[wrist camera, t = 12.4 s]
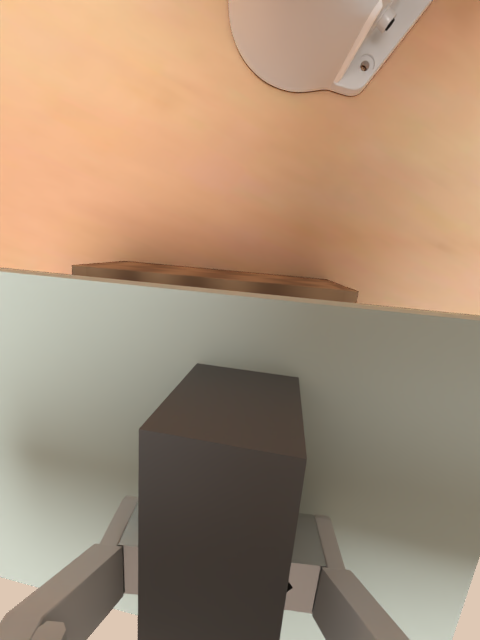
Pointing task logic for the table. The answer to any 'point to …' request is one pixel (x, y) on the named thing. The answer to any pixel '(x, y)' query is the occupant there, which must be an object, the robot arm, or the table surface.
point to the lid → (239, 447)
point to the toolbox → (220, 280)
